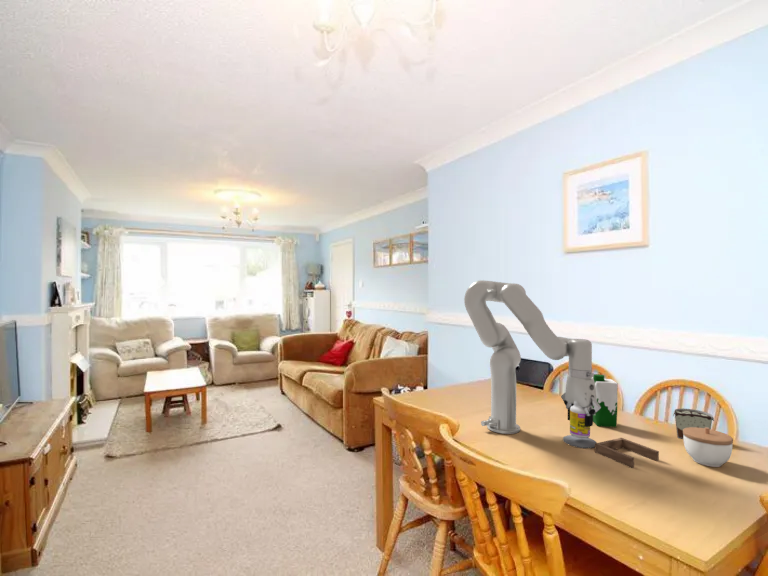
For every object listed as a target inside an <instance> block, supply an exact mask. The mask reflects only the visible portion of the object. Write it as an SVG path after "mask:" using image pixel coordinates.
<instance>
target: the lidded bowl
mask: <svg viewBox="0 0 768 576" xmlns="http://www.w3.org/2000/svg"><path fill="white" fill-rule="evenodd" d="M682 440H683V446H684V449H685V451H686V453H687V454H688V455H689V457H690V458H692V461H694V462H695V463H697V464H699V465H702V466H706V467H713V468H720V467H722V466H723V464H725V463H727V462H728V461H729V460H730V459H731V456H732V453H733V443H734V438H733V437H732V436H730V435H729V434H727V433H724V432H721V431H718V430H716V429H712V428H711V429H710V428H707V427H705V428H698V427H689V428H684V429H683V439H682Z"/></svg>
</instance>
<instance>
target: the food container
mask: <svg viewBox="0 0 768 576" xmlns="http://www.w3.org/2000/svg"><path fill="white" fill-rule="evenodd" d="M672 417H674V419H675V429H676V436H677V438H678V439H682V440H683V429H684V428H689V427H698V428H705V427H707V428H710V429H711V430H712V422H715V417H714V416H713V414H711V413H709V412H706V411H703V410H698V409H693V408H691V409H690V408H675V409H674V410H673V413H672Z"/></svg>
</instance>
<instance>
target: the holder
mask: <svg viewBox="0 0 768 576" xmlns="http://www.w3.org/2000/svg"><path fill="white" fill-rule="evenodd" d="M619 449H624V450H627V451H629V452H630V453H631V452H632V453H635V454H637V455H639V456H641V457H645V458H647V459H650V460H653V461H655V462H658V461H660V459H659V458H660V455H659V454H660V451H658V450H657V449H654V448H651V447H649V446H645V445H643V444H640V443H637V442H634V441H632V440H630V439H629V440H628V439H626V438H625V437H624V438H623V437H618V438H613V439H609V440H605V441H600V442H597V443H595V448H594V453H595V454H597V455H600V456H602V457H605V458H607V459H610V460H612V461H614V462H616V463H619V464H621V465H623V466H626V467H628V468H630V467H631V468H630V469H632V468H633V469H634V467H635V457H633V456H631V455H629V454H625V453H623V452H621V451H618V450H619Z"/></svg>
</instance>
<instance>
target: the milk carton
mask: <svg viewBox="0 0 768 576" xmlns="http://www.w3.org/2000/svg"><path fill="white" fill-rule="evenodd" d="M592 379H594V382H595V387H596V396H597V403H598V404H599V405H600V406H601V408H600V409H599V410H598V411H597V412H596V413H595V415H593V424H594V425H596V426H597V427H603V428H604V427H605V428H617V427H618V426H617V423H618V422H617V421H618V389H619V388H618V385H619V383H618V382H616V381H615V380H614V379H611V378H605V375H603V374H596V373H594V376H593V377H592ZM592 407H593V408H594V406H592Z"/></svg>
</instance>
